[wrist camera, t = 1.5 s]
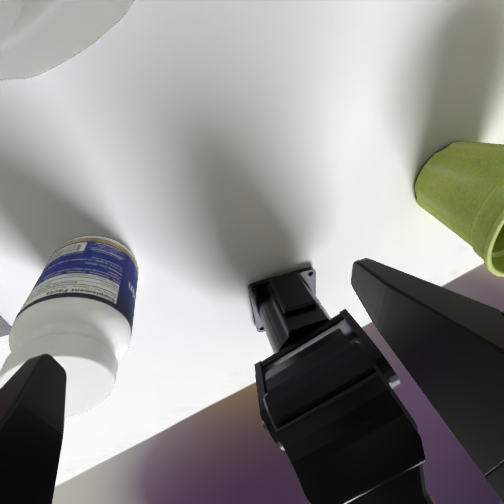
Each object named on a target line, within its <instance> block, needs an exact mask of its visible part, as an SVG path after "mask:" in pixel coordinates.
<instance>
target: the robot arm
mask: <svg viewBox="0 0 504 504" xmlns="http://www.w3.org/2000/svg"><path fill="white" fill-rule="evenodd" d="M309 272H310V273H309ZM351 284H352V287H353V289H354V290H355V292H356V294H357V296H358V297H359V299H360V301H361V302H362V304H363V306H364V308H365V309H366V311H367V313H368V315H369V316H370V318H371V320H372V321H373V323H374V325H375V326H376V328H377V329H378V331H379V332H380V334H381V335H382V336H383V338H384V339H385V340H386V342H387V343H388V345H389V346H390V347H391V349H392V350H393V351H394V353H395V354H396V355H397V357H398V358H399V360H400V361H401V362H402V364H403V365H404V366H405V368H406V369H407V371H408V372H409V373H410V375H411V376H412V378H413V379H414V380H415V382H416V383H417V384H418V386H419V387H420V388H421V390H422V391H423V393H424V394H425V395H426V397H427V398H428V399H429V401H430V402H431V404H432V405H433V406H434V408H435V409H436V410H437V412H438V413H439V414H440V416H441V417H442V419H443V420H444V421H445V423H446V424H447V425H448V427H449V428H450V430H451V431H452V432H453V434H454V435H455V436H456V438H457V439H458V441H459V442H460V443H461V445H462V446H463V447H464V449H465V450H466V451H467V453H468V454H469V456H470V457H471V458H472V460H473V461H474V462H475V464H476V465H477V467H478V468H479V469H480V471H481V472H482V473H483V475H485V477H486V479H487V481H488V482H489V483H490V485H491V486H492V487H493V489H494V490H495V491H496V493H497V494H498V496H499V497H500V498H501V500H502V501H503V503H504V311H500V310H499V309H496V308H494V307H491V306H489V305H486V304H483V303H481V302H479V301H476V300H473V299H471V298H468V297H466V296H463V295H461V294H458V293H455V292H453V291H450V290H448V289H445V288H443V287H440V286H438V285H435V284H432V283H430V282H427V281H425V280H422V279H420V278H417V277H415V276H412V275H409V274H407V273H404V272H402V271H399V270H397V269H394V268H391V267H389V266H386V265H384V264H381V263H379V262H376V261H374V260H371V259H368V258H364V259H361V260H357V261H355V262H354V264H353V269H352V277H351ZM254 288H256V289H254ZM249 293H250V298H251V303H252V308H253V314H254V319H255V324H256V328H257V331H258V332H263V331H266V334H267V337H268V339H269V342H270V344H271V347H272V349H273V352H274V354H273V355H272V356H270V357H268V358H267V359H265V360H263V361H262V362H261V361H260V362H258V363H256V364H255V372H256V374H255V376H256V384H257V392H258V400H259V407H260V415H261V418H262V420H263V426H264V428H265V430H266V431H268V432H269V433H270V435H271V436H272V438H273V439H274V441H275V443H276V444H277V445H278V446H279V447H280V448H281V449H282V450H285V451H286V453H287V455H288V457H289V459H290V461H291V463H292V465H293V467H294V469H295V472H296V474H297V476H298V478H299V481H300V483H301V486H302V488H303V491H304V493H305V495H306V497H307V499H308V500H309V502H311V504H436V503H435V502H434V500H433V498H432V497H431V495H430V494H429V492H428V491H427V489H426V488H425V481H424V473H423V466H422V463H424V462H425V455H424V450H423V446H422V441H421V438H420V435H419V434H418V429H417V426H416V423H415V421H414V420H413V418H412V417H411V415H410V414H409V413H408V411H407V410H406V408H405V407H404V405H403V404H402V402H401V401H400V400H399V398H398V397H397V395H396V394H395V392H394V391H393V389H394V388H396V387H398V386H400V385H401V382H400V380H399V378H398V376H397V375H396V373H395V372H394V370H393V369H392V367H391V366H390V364H389V363H388V361H387V360H386V359H385V357H384V356H383V354H382V353H381V352H380V350H379V349H378V348H377V346H376V345H375V344H374V343H373V341H372V340H371V339H370V338H369V336H368V335H367V334H366V333H365V332H364V330H363V329H362V328H361V327H360V326H359V324H358V323H357V322H356V321H355V320H354V319H353V317H352V316H351V315H350V314H349V313H348V311H347V310H346V309H344V310H343V311H341V312H340V314H338V315H337V316H335V317H333V318H332V319H331V318H330V316H329V315H328V313H327V312H326V310H325V309H324V307H323V306H322V305H321V303H320V302H319V300H318V299H317V297H316V272H315V270H314V269H313V268H312V267H308V268H305V269H301V270H298V271H294V272H291V273H287V274H284V275H280V276H277V277H273V278H270V279H266V280H263V281H259V282H256V283H253V284H251V285H250V286H249ZM66 382H67V375H66V371H65V369H64V368H63V367H62V366H61V365H60V364H59V363H58V362H57V361H56V360H55V359H54V358H53V357H52V356H51V355H50V354H47V353H46V354H41V355H38V356H35V357H32V358H29V359H28V360H27V361H26V362H25V363H24V364H23V365H22V366H21V367H20V368H19V369H18V370H17V371H16V373H15V374H14V375H13V376H12V377H11V378H10V379H9V380H8V381H7V382H6V383H5V384H4V385H3V386H2V388H1V389H0V504H52V499H53V493H54V487H55V481H56V475H57V470H58V464H59V458H60V452H61V446H62V439H63V431H64V417H65V399H66Z"/></svg>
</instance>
